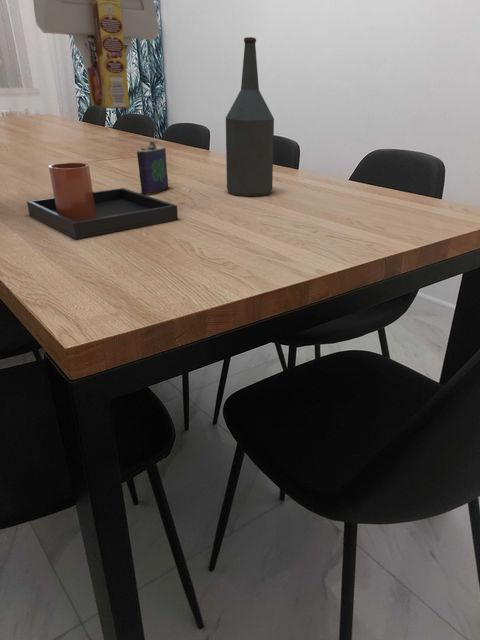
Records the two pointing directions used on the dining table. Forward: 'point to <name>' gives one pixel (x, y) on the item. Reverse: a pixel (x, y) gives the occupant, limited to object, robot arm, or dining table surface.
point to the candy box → (108, 57)
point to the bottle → (249, 134)
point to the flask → (152, 169)
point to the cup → (73, 190)
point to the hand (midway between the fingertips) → (106, 68)
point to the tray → (107, 213)
